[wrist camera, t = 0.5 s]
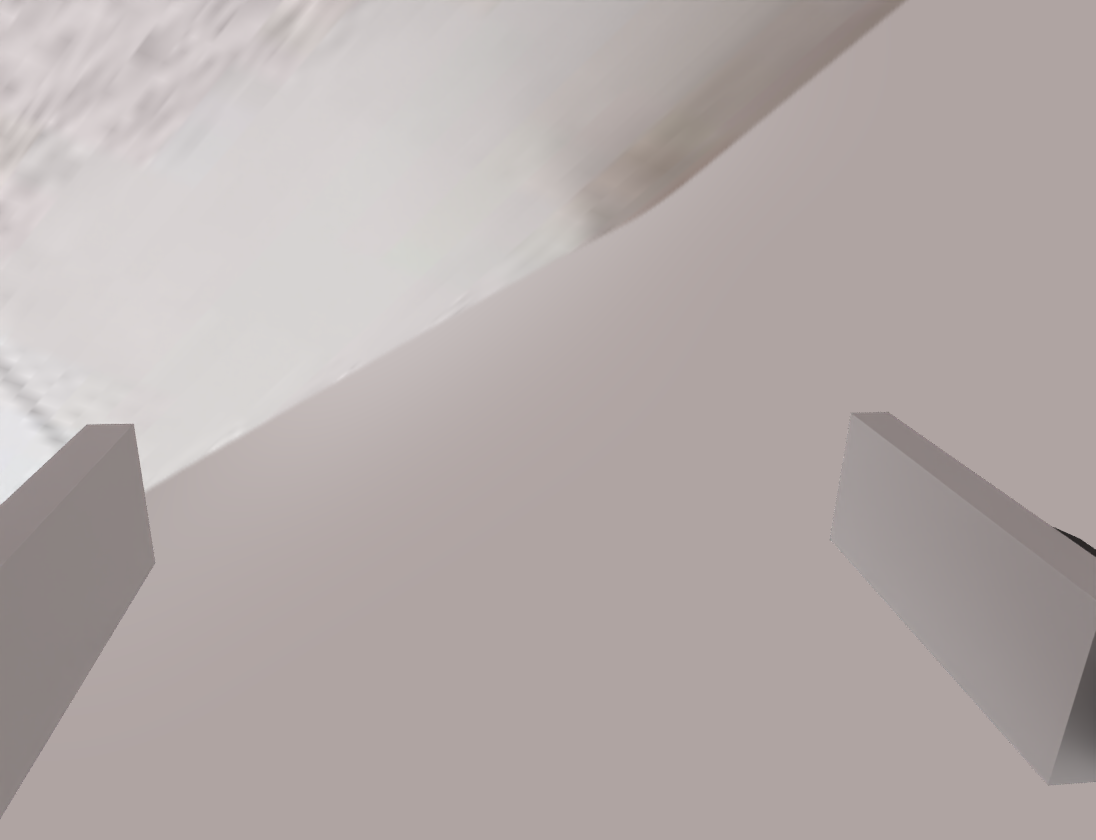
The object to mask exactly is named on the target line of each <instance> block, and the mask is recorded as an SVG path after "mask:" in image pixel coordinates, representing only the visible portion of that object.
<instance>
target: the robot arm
mask: <svg viewBox="0 0 1096 840" xmlns="http://www.w3.org/2000/svg"><path fill="white" fill-rule="evenodd" d="M830 540H831V541H832V542H833V543H834V544H835V546H836V547H837V548H838V549H839V550H840V551H841V553H842V554H843V555H844V556H845V557H846V558H847V559H848V560H849V561H850V563H851V564H852V565H853V566H854V567H855V568H856V569H857V571H858V572H859V573H860V574H861V575H862V576H863V577H864V578H865V580H866V581H867V582H868V583H869V584H870V585H871V586H872V587H873V589H874V590H875V591H876V592H877V593H878V594H879V595H880V597H881V598H882V599H883V600H884V601H885V602H886V603H887V604H888V605H889V607H890V608H891V609H892V610H893V611H894V612H895V613H896V615H897V616H898V617H899V618H900V619H901V620H902V621H903V622H904V624H905V625H907V627H908V628H909V629H910V630H911V631H912V633H913V634H914V635H915V636H916V637H917V638H918V639H919V640H920V642H921V643H922V644H923V645H924V646H925V647H926V648H927V650H929V652H930V653H931V654H932V655H933V656H934V657H935V659H936V660H937V661H938V662H939V663H940V664H941V665H942V666H943V668H944V669H945V670H946V671H947V672H948V673H949V674H950V675H951V676H952V678H953V679H954V680H955V681H956V682H957V683H958V684H959V686H960V687H961V688H962V689H963V690H964V691H965V692H966V694H967V695H968V696H969V697H970V698H971V699H972V700H973V701H974V703H976V705H977V706H978V707H979V708H980V709H981V710H982V712H983V713H984V714H985V715H986V716H987V717H988V718H989V719H990V721H991V722H992V723H993V724H994V725H995V726H996V727H997V728H998V729H999V731H1000V732H1001V733H1002V734H1003V735H1004V736H1005V737H1006V739H1007V740H1008V741H1009V742H1010V743H1011V744H1012V745H1013V746H1014V748H1015V749H1016V750H1017V751H1018V752H1019V753H1020V754H1021V756H1022V757H1023V758H1024V759H1025V760H1026V761H1027V762H1028V763H1029V765H1030V766H1031V767H1032V768H1033V769H1034V770H1035V771H1036V772H1037V773H1038V775H1039V776H1040V777H1041V778H1042V779H1043V780H1044V781H1045V783H1046V784H1047V785H1061V784H1072V783H1087V782H1096V549H1094V548H1093V547H1091V546H1090V545H1088V544H1087V543H1085V542H1084V541H1082V540H1081V539H1079V538H1077V537H1075V536H1072V535H1070V534H1068V533H1066V532H1063V531H1061V530H1059V529H1057V528H1054V527H1052V526H1050V525H1049V524H1048V523H1046V522H1045V521H1043V520H1042V519H1040V518H1039V517H1037V516H1036V515H1035V514H1033V513H1032V512H1030V511H1029V510H1027V509H1026V508H1024V507H1023V506H1022V505H1020V504H1019V503H1018V502H1016V501H1015V500H1013V499H1012V498H1010V497H1009V496H1008V495H1006V494H1005V493H1003V492H1002V491H1000V490H999V489H997V488H996V487H995V486H993V485H992V484H990V483H989V482H987V481H986V480H985V479H983V478H982V477H980V476H979V475H977V474H976V473H975V472H973V471H972V470H970V469H969V468H967V467H966V466H965V465H963V464H961V463H960V462H959V461H957V460H956V459H955V458H953V457H952V456H950V455H949V454H947V453H946V452H945V451H943V450H942V449H940V448H939V447H937V446H936V445H935V444H933V443H932V442H930V441H929V440H927V439H926V438H925V437H923V436H922V435H920V434H919V433H917V432H916V431H915V430H913V429H912V428H910V427H909V426H907V425H906V424H904V423H903V422H902V421H900V420H899V419H897V418H896V417H895V416H893V415H892V414H890V413H889V412H873V413H851V416H850V422H849V428H848V434H847V440H846V446H845V452H844V458H843V464H842V470H841V476H840V482H839V488H838V494H837V500H836V506H835V512H834V517H833V523H832V529H831V535H830ZM154 564H155V558H154V552H153V546H152V539H151V532H150V526H149V519H148V513H147V506H146V500H145V494H144V487H143V481H142V474H141V468H140V461H139V455H138V448H137V442H136V436H135V429H134V424H95V425H86V426H85V427H84V428H83V429H82V430H81V431H80V432H78V433H77V434H76V435H75V436H74V437H73V438H72V439H71V440H70V441H69V442H68V443H67V444H66V445H65V446H63V447H62V448H61V449H60V450H59V451H58V452H57V453H56V454H55V455H54V456H53V457H52V458H51V459H50V460H48V461H47V462H46V463H45V464H44V465H43V466H42V467H41V468H40V469H39V470H38V471H37V472H36V473H35V474H33V475H32V476H31V477H30V478H29V479H28V480H27V481H26V482H25V483H24V484H23V485H22V486H21V487H20V488H18V489H17V490H16V491H15V492H14V493H13V494H12V495H11V496H10V497H9V498H8V499H7V500H6V501H5V502H3V503H2V504H1V505H0V818H1V816H2V815H3V813H4V812H5V810H6V809H7V807H8V805H9V804H10V802H11V800H12V798H13V797H14V795H15V794H16V792H17V790H18V789H19V787H20V785H21V784H22V782H23V780H24V779H25V777H26V775H27V774H28V772H29V771H30V769H31V767H32V766H33V764H34V762H35V760H36V759H37V757H38V756H39V754H40V752H41V751H42V749H43V747H44V746H45V744H46V742H47V741H48V739H49V737H50V736H51V734H52V733H53V731H54V729H55V727H56V726H57V724H58V723H59V721H60V719H61V718H62V716H63V714H64V713H65V711H66V709H67V708H68V706H69V704H70V703H71V701H72V699H73V698H74V696H75V694H76V693H77V691H78V690H79V688H80V686H81V685H82V683H83V681H84V680H85V678H86V676H87V675H88V673H89V671H90V670H91V668H92V667H93V665H94V663H95V662H96V660H97V658H98V657H99V655H100V653H101V652H102V650H103V648H104V646H105V645H106V643H107V642H108V640H109V638H110V637H111V635H112V633H113V632H114V630H115V629H116V627H117V625H118V623H119V622H120V620H121V619H122V617H123V615H124V614H125V612H126V610H127V609H128V607H129V605H130V604H131V602H132V600H133V599H134V597H135V596H136V594H137V592H138V591H139V589H140V587H141V586H142V584H143V582H144V581H145V579H146V577H147V576H148V574H149V572H150V571H151V569H152V568H153V566H154Z"/></svg>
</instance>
